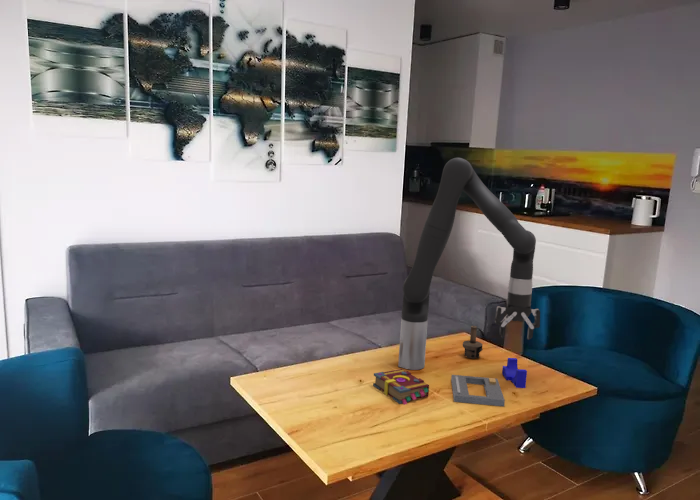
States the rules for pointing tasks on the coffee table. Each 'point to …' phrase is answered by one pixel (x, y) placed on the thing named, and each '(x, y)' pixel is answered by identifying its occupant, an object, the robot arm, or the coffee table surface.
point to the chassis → (463, 395)
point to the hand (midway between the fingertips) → (515, 338)
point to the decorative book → (401, 385)
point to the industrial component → (472, 345)
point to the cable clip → (514, 373)
